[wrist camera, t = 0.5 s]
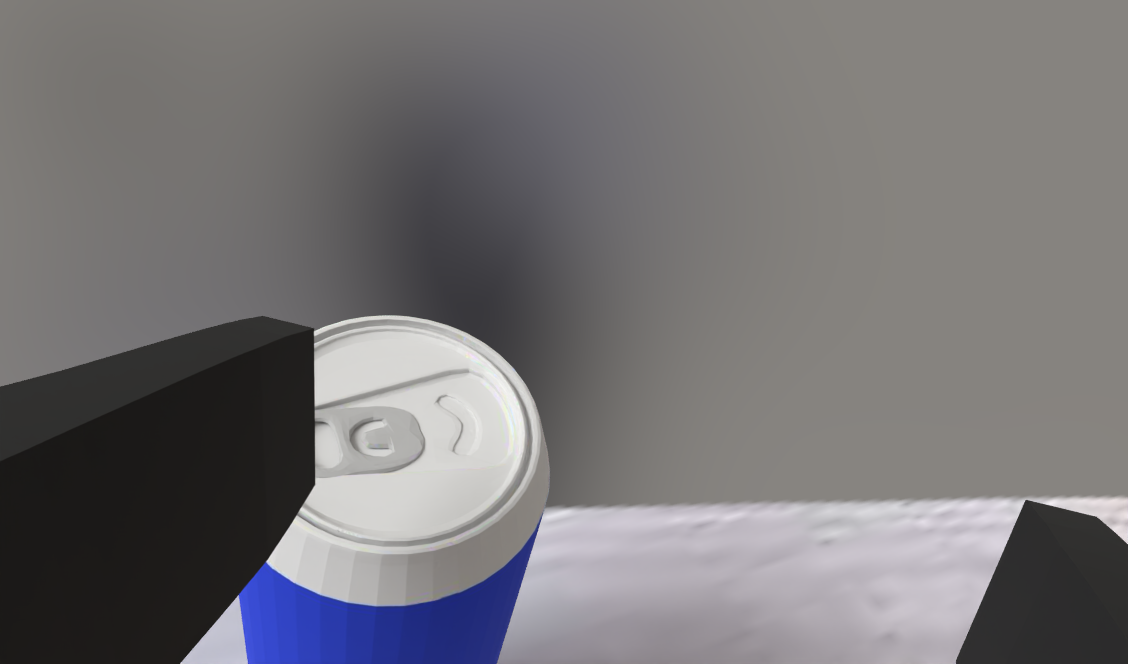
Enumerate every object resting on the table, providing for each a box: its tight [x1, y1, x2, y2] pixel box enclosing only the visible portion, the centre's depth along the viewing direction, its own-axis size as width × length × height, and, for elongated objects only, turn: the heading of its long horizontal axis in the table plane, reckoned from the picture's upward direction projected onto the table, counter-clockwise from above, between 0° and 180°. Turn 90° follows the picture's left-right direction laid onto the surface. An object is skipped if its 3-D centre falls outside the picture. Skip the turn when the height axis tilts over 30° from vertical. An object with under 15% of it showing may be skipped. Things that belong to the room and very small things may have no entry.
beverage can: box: [239, 316, 550, 664], centre depth 19 cm, size 5×5×15 cm
